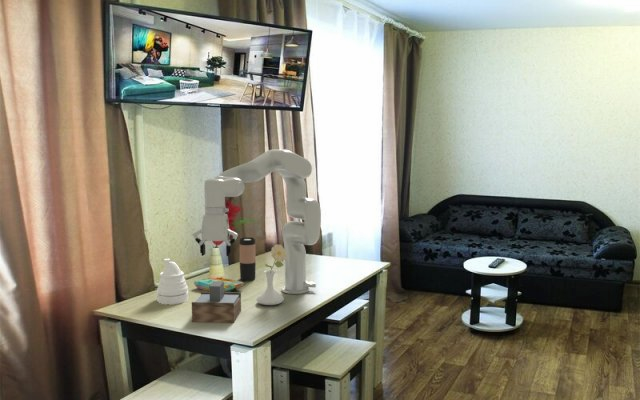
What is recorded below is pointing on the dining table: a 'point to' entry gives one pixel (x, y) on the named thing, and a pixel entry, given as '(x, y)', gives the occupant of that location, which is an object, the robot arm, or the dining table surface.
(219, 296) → the cover plate
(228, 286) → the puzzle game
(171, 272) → the honey pot
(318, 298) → the dining table surface
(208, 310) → the walnut box
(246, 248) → the travel mug
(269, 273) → the flower in vase
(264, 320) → the dining table surface
